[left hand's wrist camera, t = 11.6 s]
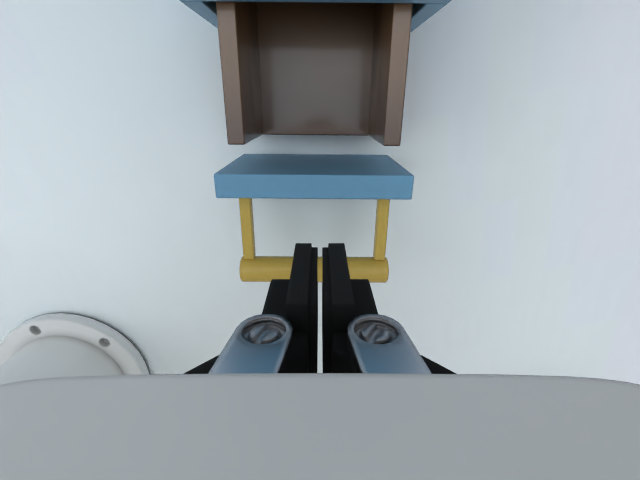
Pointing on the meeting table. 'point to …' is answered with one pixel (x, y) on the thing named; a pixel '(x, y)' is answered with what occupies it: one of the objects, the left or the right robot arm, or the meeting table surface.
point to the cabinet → (423, 7)
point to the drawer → (313, 111)
